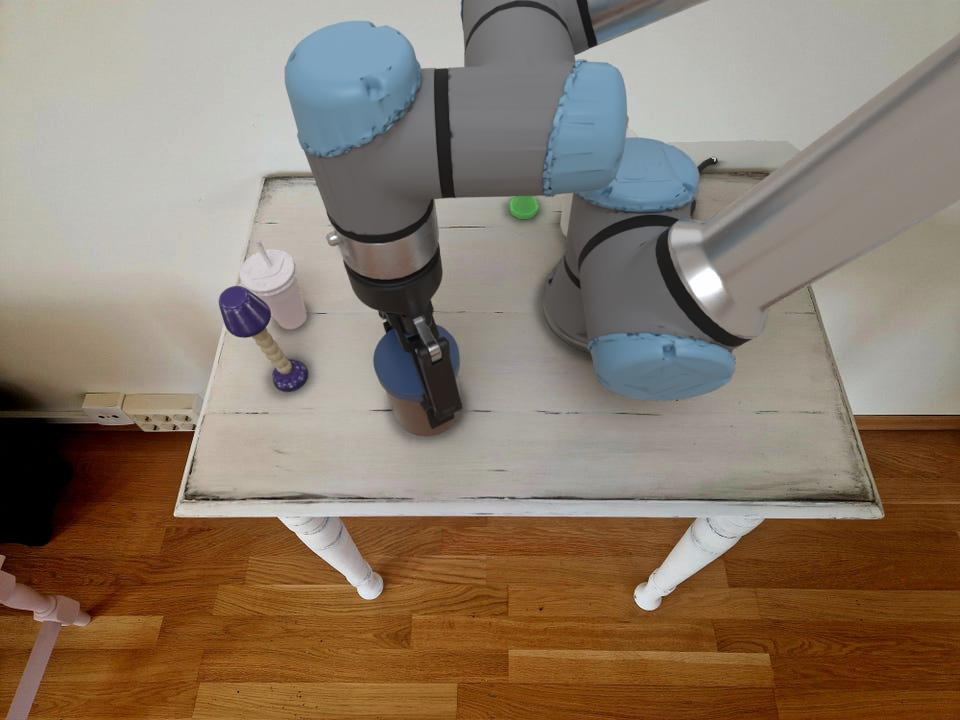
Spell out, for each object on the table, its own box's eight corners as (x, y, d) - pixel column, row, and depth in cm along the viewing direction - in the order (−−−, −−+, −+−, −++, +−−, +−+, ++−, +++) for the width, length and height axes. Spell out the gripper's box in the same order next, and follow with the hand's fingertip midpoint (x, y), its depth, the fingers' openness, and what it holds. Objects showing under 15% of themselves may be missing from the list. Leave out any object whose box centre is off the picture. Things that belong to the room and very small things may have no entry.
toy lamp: (297, 399, 68) (243, 319, 54) (262, 390, 69) (200, 309, 54) (313, 366, 70) (267, 280, 56) (279, 357, 71) (224, 271, 57)
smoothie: (326, 318, 74) (293, 244, 62) (284, 346, 72) (242, 276, 60) (299, 289, 77) (262, 213, 65) (258, 316, 74) (212, 242, 62)
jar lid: (363, 349, 60) (360, 341, 59) (437, 317, 62) (436, 308, 61) (396, 416, 56) (393, 408, 55) (474, 379, 58) (473, 371, 57)
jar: (443, 365, 70) (435, 316, 61) (473, 417, 66) (469, 373, 57) (383, 393, 68) (365, 347, 59) (410, 448, 64) (397, 407, 56)
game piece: (544, 213, 83) (547, 180, 78) (518, 223, 82) (519, 191, 77) (528, 194, 85) (531, 161, 80) (503, 204, 84) (504, 172, 79)
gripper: (297, 177, 48) (354, 327, 67) (403, 375, 38) (434, 485, 57) (379, 147, 50) (412, 302, 69) (502, 329, 40) (500, 451, 59)
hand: (422, 385), depth 63 cm, fingers open, 9 cm apart
